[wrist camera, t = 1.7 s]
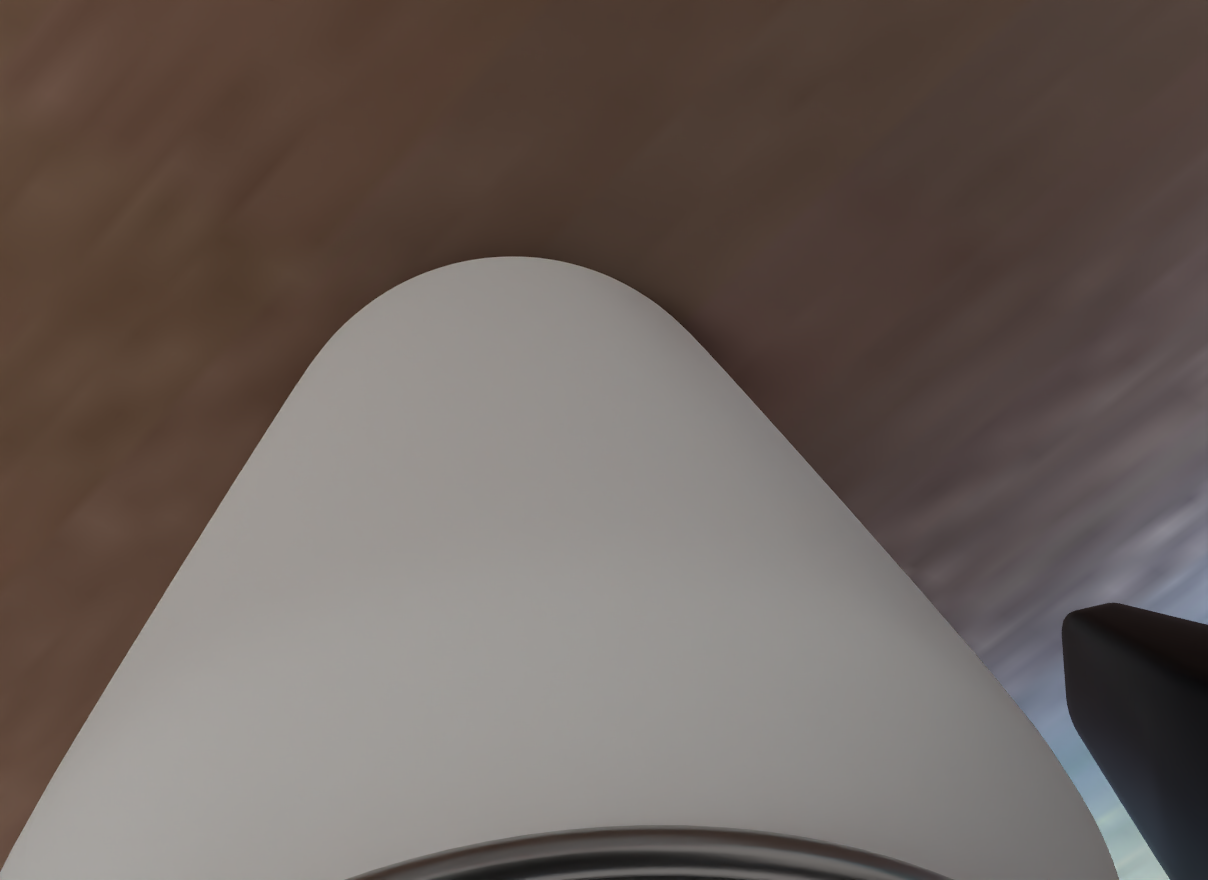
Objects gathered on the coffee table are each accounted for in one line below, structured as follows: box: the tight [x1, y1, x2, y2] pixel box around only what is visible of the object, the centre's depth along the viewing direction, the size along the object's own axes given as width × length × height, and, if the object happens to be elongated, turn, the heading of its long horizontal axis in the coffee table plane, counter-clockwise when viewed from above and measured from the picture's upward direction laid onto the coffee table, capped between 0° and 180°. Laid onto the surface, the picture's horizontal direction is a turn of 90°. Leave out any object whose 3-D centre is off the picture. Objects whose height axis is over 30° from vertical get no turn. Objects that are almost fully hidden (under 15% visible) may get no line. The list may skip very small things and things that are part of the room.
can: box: [0, 256, 1119, 880], centre depth 10 cm, size 6×6×12 cm
